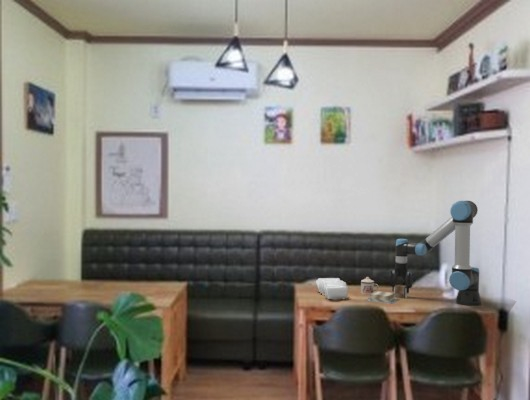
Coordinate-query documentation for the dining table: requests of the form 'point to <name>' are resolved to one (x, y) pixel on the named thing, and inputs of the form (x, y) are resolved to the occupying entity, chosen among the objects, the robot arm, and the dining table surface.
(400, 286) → the walnut block
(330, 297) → the white wavy slab sculpture
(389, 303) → the plan mat
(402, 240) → the robot arm
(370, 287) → the teacup with lid
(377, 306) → the dining table surface
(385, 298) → the riser block
